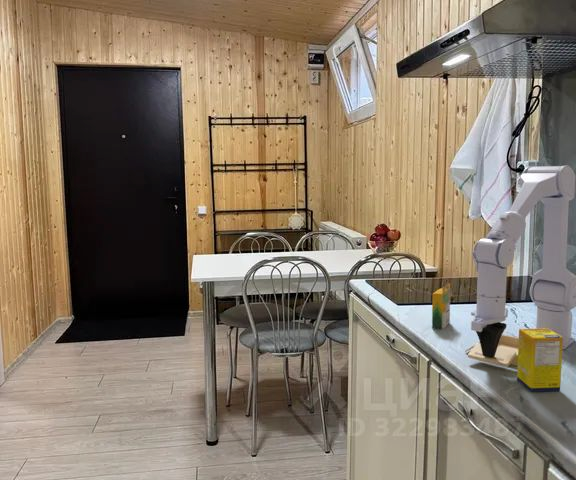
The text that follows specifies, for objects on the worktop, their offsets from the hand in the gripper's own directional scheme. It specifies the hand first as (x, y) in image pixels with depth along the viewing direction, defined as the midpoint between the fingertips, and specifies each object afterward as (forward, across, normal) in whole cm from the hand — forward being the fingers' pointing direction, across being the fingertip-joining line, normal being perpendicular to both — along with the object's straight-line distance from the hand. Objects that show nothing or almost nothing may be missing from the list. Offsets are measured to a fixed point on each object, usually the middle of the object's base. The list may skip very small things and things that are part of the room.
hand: (488, 355), depth 110 cm
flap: (0, -2, 0) cm, 2 cm away
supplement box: (+3, +3, +11) cm, 12 cm away
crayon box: (+3, -21, -22) cm, 31 cm away
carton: (+3, -12, 0) cm, 12 cm away
